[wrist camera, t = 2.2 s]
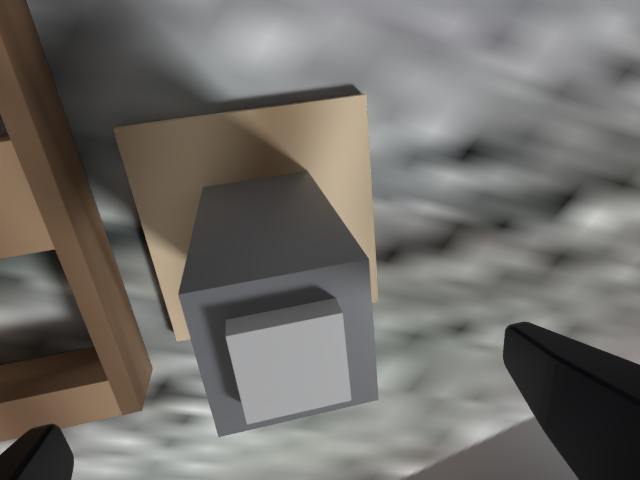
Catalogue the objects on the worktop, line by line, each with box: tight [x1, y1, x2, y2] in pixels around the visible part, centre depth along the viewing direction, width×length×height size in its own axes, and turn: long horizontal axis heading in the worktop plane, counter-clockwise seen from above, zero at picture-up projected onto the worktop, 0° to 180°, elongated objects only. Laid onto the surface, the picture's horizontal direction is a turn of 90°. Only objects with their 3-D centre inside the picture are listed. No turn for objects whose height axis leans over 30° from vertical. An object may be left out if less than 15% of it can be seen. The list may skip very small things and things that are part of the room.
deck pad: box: [113, 94, 378, 342], centre depth 17 cm, size 9×9×1 cm
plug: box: [178, 171, 378, 437], centre depth 13 cm, size 4×4×9 cm
